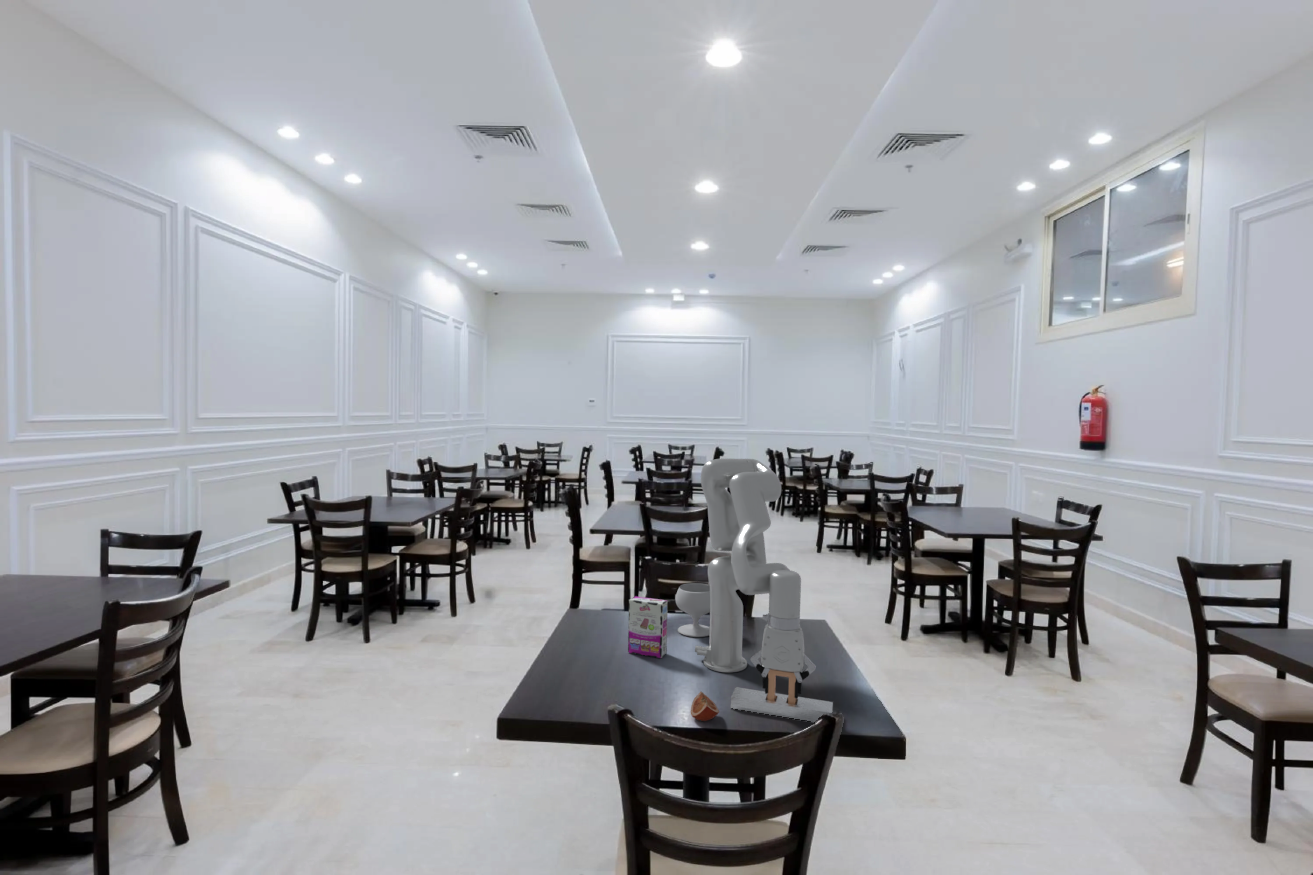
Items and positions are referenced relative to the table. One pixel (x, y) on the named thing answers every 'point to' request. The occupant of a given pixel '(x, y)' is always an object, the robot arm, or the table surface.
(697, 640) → the table surface
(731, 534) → the robot arm
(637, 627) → the candy bar box
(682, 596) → the chalice
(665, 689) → the table surface
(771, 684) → the orange u-shaped block
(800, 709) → the rail
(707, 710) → the fruit slice
